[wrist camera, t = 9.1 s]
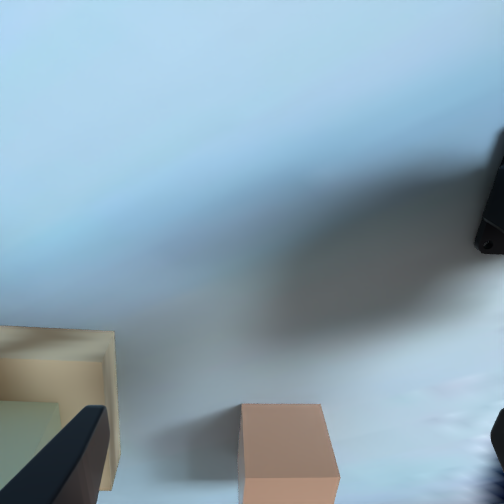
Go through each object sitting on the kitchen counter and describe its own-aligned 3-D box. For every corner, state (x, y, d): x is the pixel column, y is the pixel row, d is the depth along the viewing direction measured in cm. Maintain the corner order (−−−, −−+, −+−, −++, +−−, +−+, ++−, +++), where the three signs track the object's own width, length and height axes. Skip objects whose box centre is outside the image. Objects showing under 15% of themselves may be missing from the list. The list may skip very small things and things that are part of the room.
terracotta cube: (320, 403, 26) (340, 477, 21) (309, 456, 28) (325, 533, 23) (241, 402, 25) (245, 478, 21) (237, 456, 27) (239, 535, 23)
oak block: (116, 325, 23) (101, 362, 20) (122, 447, 27) (111, 490, 24) (-76, 315, 22) (-118, 353, 19) (-37, 444, 26) (-67, 489, 23)
